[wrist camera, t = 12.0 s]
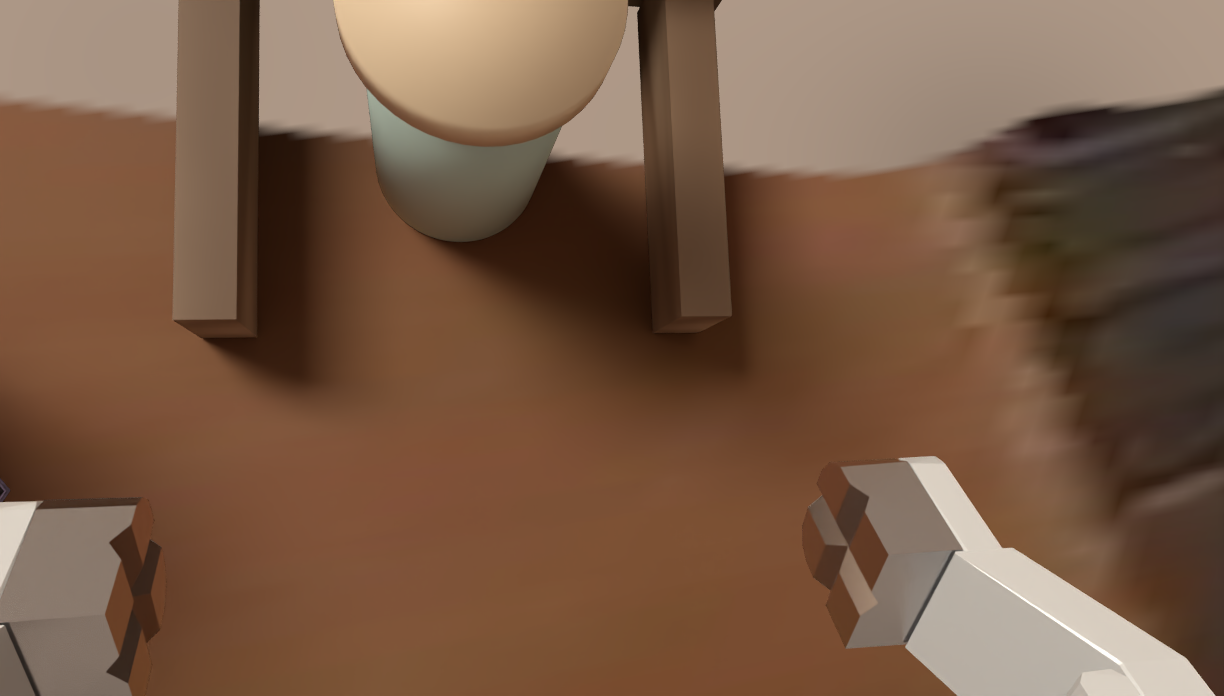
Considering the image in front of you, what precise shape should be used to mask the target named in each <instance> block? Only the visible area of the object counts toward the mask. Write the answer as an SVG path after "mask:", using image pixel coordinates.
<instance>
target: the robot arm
mask: <svg viewBox="0 0 1224 696" xmlns="http://www.w3.org/2000/svg"><path fill="white" fill-rule="evenodd" d="M817 485H818V487H819V489H820V491H821V493H822V496H821V497H820V498H819V499H817V500H816V501H815V502H814V503H813V504H811V505H810V506H809V507H808V509H807V512H806V515H805V519H804V522H803V525H802V546H803V550H804V554H805V558H806V562H807V564H808V567H809V569H810V571H811V574H812V576H813V578H815V579H816V580H817V581H819V582H820V583H821V584H823V585H824V586H825V587H827V588H828V589H829V590H830V593H829V597H828V600H827V603H826V607H827V609H828V611H829V614H830V616H831V618H832V620H833V622H834V624H835V627H836V629H837V631H838V633H839V635H840V637H841V640H842V642H843V644H844V646H845V648H859V647H873V646H887V645H901V644H907V645H906V647H905V648H906V649H908V650H909V651H910V652H911V653H912V654H913V655H914V656H915V657H916V658H917V659H918V660H920V661H921V662H922V663H923V664H924V665H925V666H926V667H927V668H928V669H929V670H930V671H931V672H933V673H934V674H935V675H936V676H937V677H938V678H939V679H940V680H941V681H942V682H943V683H945V684H946V685H947V686H948V687H949V688H950V689H951V690H952V691H953V692H954V693H955V694H957V695H958V696H1215V695H1214V694H1213V692H1212V691H1211V690H1210V688H1209V687H1208V686H1207V684H1206V683H1205V682H1204V681H1203V679H1202V678H1201V677H1200V675H1199V674H1198V673H1197V672H1196V670H1195V669H1194V668H1193V666H1192V665H1191V664H1190V663H1189V661H1188V660H1187V659H1186V658H1185V657H1183V656H1182V655H1180V654H1179V653H1177V652H1175V651H1174V650H1172V649H1171V648H1169V647H1168V646H1166V645H1164V644H1163V643H1161V642H1160V641H1158V640H1157V639H1155V638H1153V637H1152V636H1150V635H1149V634H1147V633H1146V632H1144V631H1142V630H1141V629H1139V628H1138V627H1136V626H1135V625H1133V624H1131V623H1130V622H1128V621H1127V620H1125V619H1124V618H1122V617H1120V616H1119V615H1117V614H1116V613H1114V612H1113V611H1111V610H1109V609H1108V608H1106V607H1105V606H1103V605H1102V604H1100V603H1098V602H1097V601H1095V600H1094V599H1092V598H1091V597H1089V596H1087V595H1086V594H1084V593H1083V592H1081V591H1080V590H1078V589H1076V588H1075V587H1073V586H1072V585H1070V584H1069V583H1067V582H1065V581H1064V580H1062V579H1061V578H1059V577H1058V576H1056V575H1054V574H1053V573H1051V572H1050V571H1048V570H1047V569H1045V568H1043V567H1042V566H1040V565H1039V564H1037V563H1036V562H1034V561H1032V560H1031V559H1029V558H1028V557H1026V556H1025V555H1023V554H1021V553H1020V552H1018V551H1017V550H1015V549H1014V548H1002V547H1001V546H1000V544H999V543H998V541H997V540H996V538H995V537H994V535H993V534H992V532H991V531H990V530H989V528H988V527H987V525H986V524H985V522H984V521H983V519H982V518H981V516H980V515H979V513H978V512H977V510H976V509H975V507H974V506H973V504H972V503H971V502H970V500H969V499H968V497H967V496H966V494H965V493H964V491H963V490H962V488H961V487H960V485H959V484H958V482H957V481H956V479H955V478H954V476H953V475H952V474H951V472H950V471H949V469H948V468H947V466H946V465H945V463H944V462H943V461H941V460H940V459H938V458H937V457H935V456H928V457H911V458H900V459H895V458H893V459H877V460H860V461H844V462H829V463H828V464H827V465H826V466H825V467H824V468H823V469H822V471H821V474H820V476H819V479H818V481H817ZM153 524H154V517H153V513H152V510H151V507H150V503H149V500H148V499H145V498H142V497H138V498H102V499H66V500H44V501H24V502H0V696H145V694H146V689H147V685H148V681H149V677H150V672H151V668H152V662H151V659H150V655H149V652H148V648H147V644H146V643H147V642H148V641H149V640H150V639H151V638H152V637H153V636H154V635H155V634H156V633H157V632H158V631H159V630H160V628H161V623H162V618H163V613H164V609H165V597H166V582H167V580H166V569H165V561H164V556H163V552H162V548H161V547H160V546H159V545H157V544H156V543H155V542H153V541H152V540H150V536H151V532H152V528H153Z"/></svg>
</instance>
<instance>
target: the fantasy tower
mask: <svg viewBox="0 0 1224 696" xmlns="http://www.w3.org/2000/svg"><path fill="white" fill-rule="evenodd" d="M9 492H10V489H9V488H8V487H7V486H6V484H5V483H4V482H3V481H2V480H1V478H0V502H3V500H4V499H5V498H6V496H7V495H8V493H9Z"/></svg>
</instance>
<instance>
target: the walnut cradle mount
mask: <svg viewBox="0 0 1224 696" xmlns="http://www.w3.org/2000/svg"><path fill="white" fill-rule="evenodd" d="M259 1H260V0H179V10H178V11H179V13H178V63H177V115H176V167H175V219H174V272H173V320H174V321H175V322H177V323H178V324H180V325H182V326H183V327H185V328H186V329H188V330H189V331H191V332H193V333H194V334H196V335H197V336H199V337H200V338H252V337H257V281H258V144H259V7H260V5H259ZM721 1H722V0H628V6H635V7H640V8H639V10H638V12H637V17H638V38H639V59H640V79H641V101H642V121H643V143H644V164H645V185H646V205H647V226H648V247H649V268H650V289H651V310H652V331H653V333H699V332H701V331H703V330H705V329H707V328H709V327H711V326H713V325H715V324H717V323H719V322H721V321H723V320H725V319H727V318H729V317H731V316H732V305H731V288H730V271H729V255H728V238H727V221H726V204H725V187H724V170H723V154H722V138H721V137H722V136H721V119H720V103H719V87H718V69H717V51H716V35H715V18H714V11H715V10H716V8H717V7H718V5H719V4H720V2H721Z"/></svg>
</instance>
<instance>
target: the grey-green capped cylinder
mask: <svg viewBox="0 0 1224 696" xmlns="http://www.w3.org/2000/svg"><path fill="white" fill-rule="evenodd" d="M333 3H334V9H335V15H336V21H337V25H338V30H339V35H340V39H341V42H342V44H343V47H344V50H345V52H346V55H347V57H348V59H349V61H350V63H351V65H352V67H353V69H354V71H355V72H356V74H357V75H358V77H359V78H360V80H361V81H362V82H363V84H364V85H365V87H366V88H367V96H368V105H369V114H370V121H371V131H372V139H373V148H374V156H375V165H376V173H377V177H378V182H379V185H380V187H381V190H382V193H383V195H384V197H385V198H386V200H387V202H388V203H389V205H390V206H391V208H392V209H393V210H394V212H395V213H396V214H397V215H398V216H399V217H400V218H401V219H402V220H403V221H405V222H406V223H407V224H408V225H409V226H411V227H413V228H414V229H416V230H417V231H419V232H421V233H423V234H425V235H427V236H430V237H433V238H436V239H440V240H444V241H451V242H471V241H476V240H481V239H484V238H487V237H490V236H492V235H495V234H497V233H499V232H501V231H502V230H504V229H505V228H507V227H508V226H509V225H511V224H512V223H513V222H514V221H515V220H516V219H517V218H518V217H519V216H520V215H521V213H522V212H523V211H524V209H525V208H526V206H527V205H528V203H529V201H530V199H531V196H532V194H533V192H534V190H535V187H536V185H537V183H538V180H539V178H540V176H541V173H542V171H543V169H544V167H545V164H546V162H547V160H548V157H549V155H550V153H551V150H552V148H553V146H554V143H555V141H556V139H557V137H558V134H559V132H560V130H561V127H562V126H563V125H564V124H566V123H567V122H569V121H570V120H571V119H572V118H574V117H575V116H576V115H577V114H578V113H579V112H581V111H582V110H583V109H584V107H585V106H586V105H587V104H588V103H589V102H590V101H591V99H592V98H593V97H594V95H595V94H596V92H597V91H598V89H599V88H600V86H601V85H602V83H603V81H604V78H605V76H606V75H607V72H608V70H609V69H610V66H611V64H612V62H613V60H614V58H615V56H616V54H617V52H618V50H619V48H620V44H621V41H622V38H623V35H624V31H625V26H626V20H627V13H628V0H333Z"/></svg>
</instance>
